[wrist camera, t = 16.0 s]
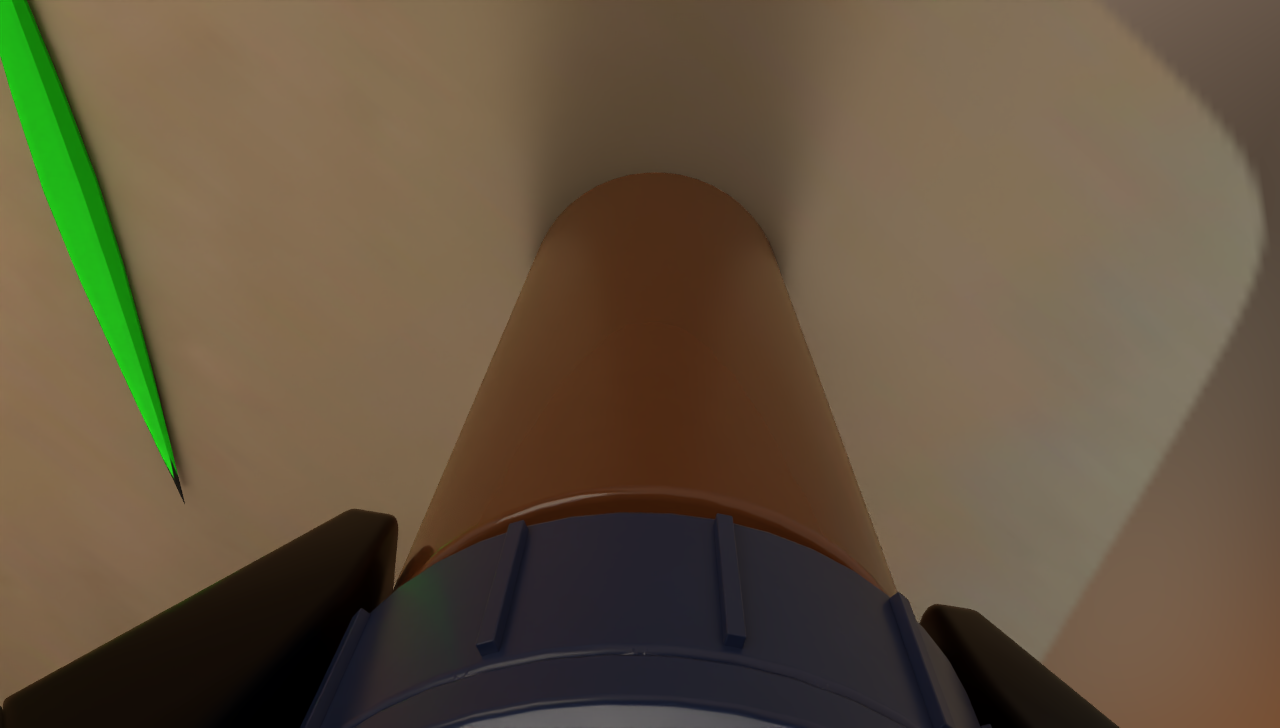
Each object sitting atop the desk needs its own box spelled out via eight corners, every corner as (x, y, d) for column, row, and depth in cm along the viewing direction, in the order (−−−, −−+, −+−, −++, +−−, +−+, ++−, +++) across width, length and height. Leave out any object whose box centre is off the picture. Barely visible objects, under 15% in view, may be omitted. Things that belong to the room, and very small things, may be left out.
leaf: (173, 498, 20) (155, 518, 19) (-108, -281, 15) (-148, -295, 14) (215, 493, 20) (197, 513, 19) (-52, -291, 15) (-90, -304, 14)
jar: (602, 442, 19) (511, 1176, 8) (485, 240, 18) (147, 783, 6) (818, 347, 18) (1081, 1019, 7) (715, 125, 17) (828, 507, 5)
